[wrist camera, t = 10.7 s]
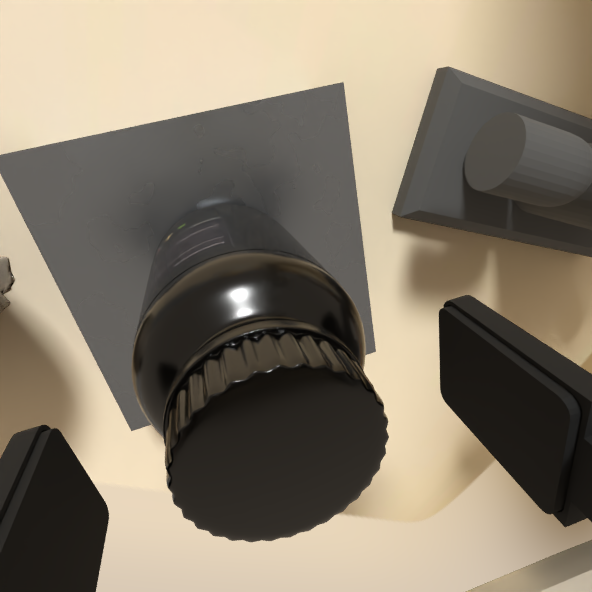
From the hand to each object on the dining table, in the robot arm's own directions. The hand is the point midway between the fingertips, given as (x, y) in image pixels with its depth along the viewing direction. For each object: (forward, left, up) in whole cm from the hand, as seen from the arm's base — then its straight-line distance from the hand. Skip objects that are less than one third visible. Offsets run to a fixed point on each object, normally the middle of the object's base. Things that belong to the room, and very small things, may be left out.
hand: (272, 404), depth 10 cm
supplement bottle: (0, 0, -11) cm, 11 cm away
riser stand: (0, 0, -15) cm, 15 cm away
